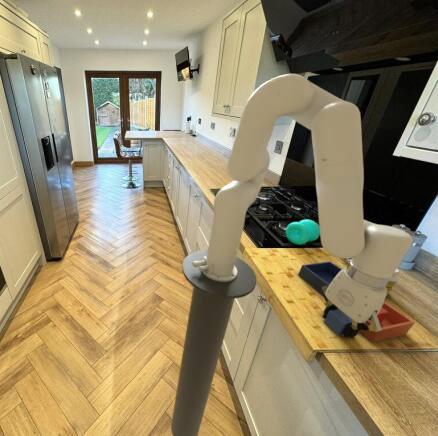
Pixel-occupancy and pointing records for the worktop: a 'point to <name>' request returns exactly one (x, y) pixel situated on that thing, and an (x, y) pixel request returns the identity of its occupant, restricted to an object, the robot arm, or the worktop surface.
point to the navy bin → (319, 274)
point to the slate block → (337, 321)
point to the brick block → (382, 315)
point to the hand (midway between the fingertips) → (337, 325)
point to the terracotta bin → (389, 325)
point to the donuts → (302, 231)
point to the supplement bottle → (392, 281)
